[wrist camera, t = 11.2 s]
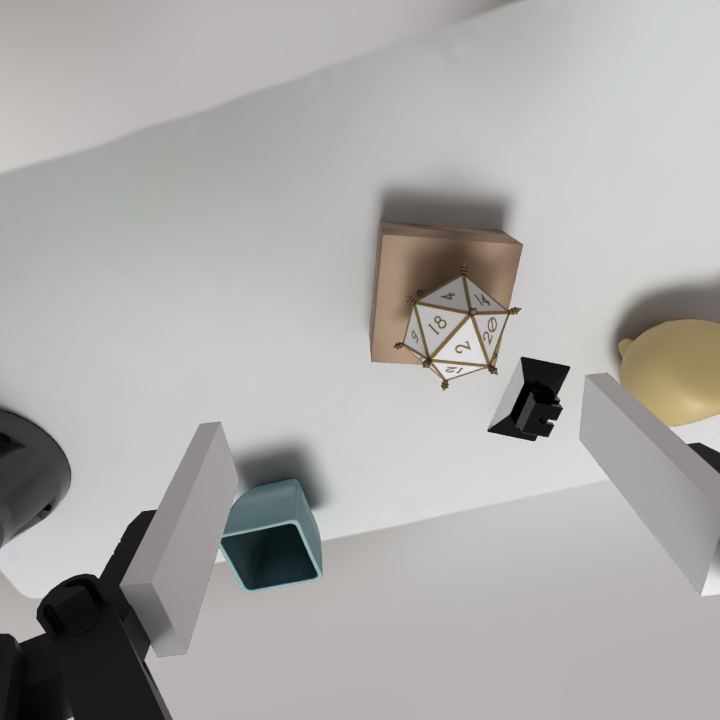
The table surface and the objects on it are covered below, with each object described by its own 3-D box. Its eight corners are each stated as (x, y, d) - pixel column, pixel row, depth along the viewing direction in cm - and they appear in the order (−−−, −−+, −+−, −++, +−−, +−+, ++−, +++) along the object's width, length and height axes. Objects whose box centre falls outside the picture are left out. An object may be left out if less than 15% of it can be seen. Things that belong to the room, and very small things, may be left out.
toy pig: (720, 371, 48) (812, 431, 38) (603, 403, 49) (663, 468, 40) (722, 284, 44) (826, 327, 34) (594, 322, 45) (659, 373, 36)
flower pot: (233, 476, 53) (211, 538, 45) (305, 459, 52) (297, 519, 44) (260, 529, 57) (245, 595, 49) (328, 515, 56) (324, 579, 48)
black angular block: (533, 448, 52) (549, 475, 48) (473, 436, 52) (484, 462, 48) (581, 352, 47) (603, 373, 43) (515, 337, 46) (531, 358, 42)
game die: (432, 275, 41) (466, 221, 31) (506, 337, 40) (566, 302, 30) (367, 349, 39) (381, 316, 29) (443, 415, 38) (484, 404, 29)
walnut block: (369, 334, 46) (371, 361, 40) (379, 221, 41) (383, 234, 35) (478, 341, 46) (494, 368, 41) (501, 230, 41) (522, 244, 36)
